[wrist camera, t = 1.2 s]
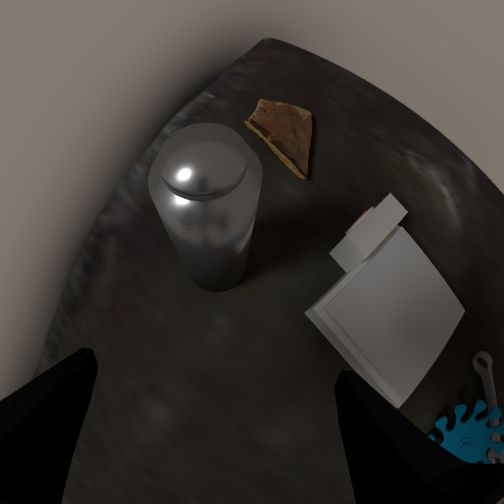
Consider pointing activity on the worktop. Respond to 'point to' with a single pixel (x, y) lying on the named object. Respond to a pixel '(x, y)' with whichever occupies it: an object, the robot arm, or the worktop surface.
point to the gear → (471, 434)
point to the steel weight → (208, 201)
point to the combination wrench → (489, 398)
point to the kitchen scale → (386, 304)
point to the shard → (284, 132)
